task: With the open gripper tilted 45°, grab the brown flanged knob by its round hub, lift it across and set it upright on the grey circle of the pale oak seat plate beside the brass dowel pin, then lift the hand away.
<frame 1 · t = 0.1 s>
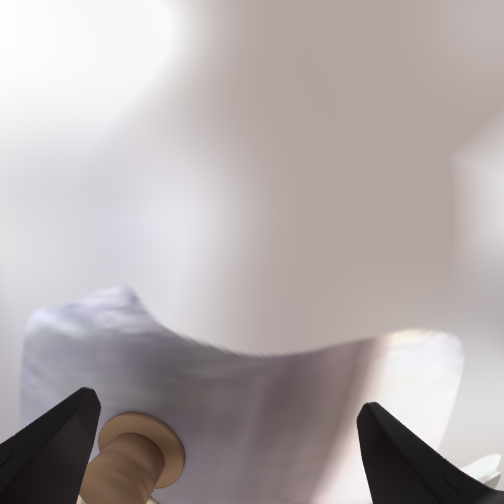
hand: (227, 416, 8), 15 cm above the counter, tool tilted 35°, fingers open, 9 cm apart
brown flanged knob: (142, 449, 20), on the counter
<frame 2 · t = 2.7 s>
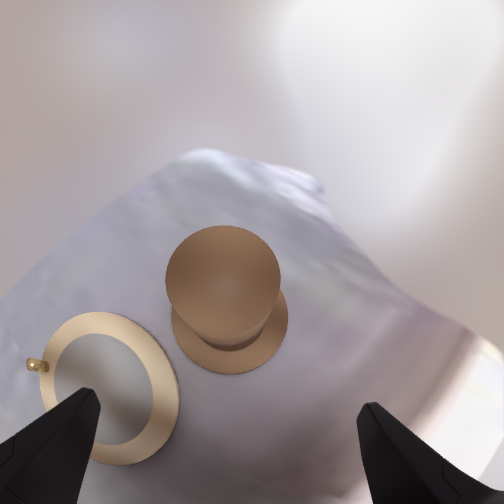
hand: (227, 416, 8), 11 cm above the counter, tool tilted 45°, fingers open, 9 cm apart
seat plate: (104, 390, 17), on the counter
brown flanged knob: (229, 319, 20), on the counter
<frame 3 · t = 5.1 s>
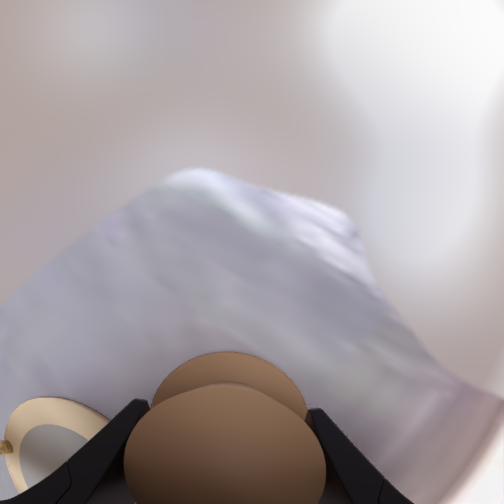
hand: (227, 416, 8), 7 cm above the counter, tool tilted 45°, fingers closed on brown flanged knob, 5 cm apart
seat plate: (77, 483, 10), on the counter
brown flanged knob: (229, 423, 13), on the counter, touching gripper
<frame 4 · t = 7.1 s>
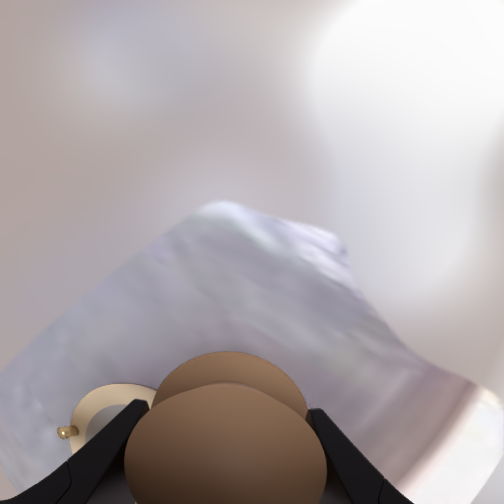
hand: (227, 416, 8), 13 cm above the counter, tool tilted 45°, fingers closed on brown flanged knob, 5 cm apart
seat plate: (136, 451, 17), on the counter
brown flanged knob: (229, 423, 13), point 7 cm above the counter, touching gripper
when the fingers open (9 cm above the counter, at t = 9.4 s): brown flanged knob stays where it is, resting on seat plate.
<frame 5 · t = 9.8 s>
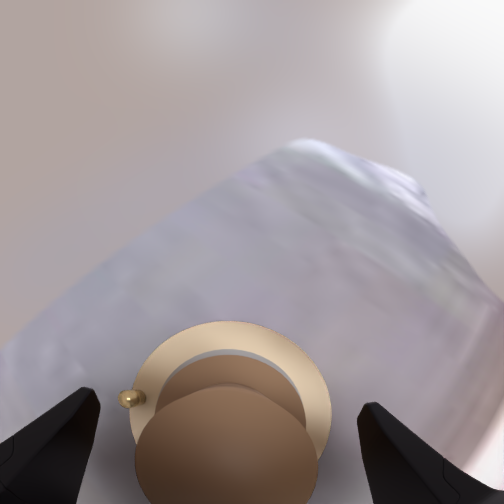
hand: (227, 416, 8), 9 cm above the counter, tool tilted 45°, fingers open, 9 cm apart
seat plate: (229, 417, 15), on the counter
brown flanged knob: (230, 422, 14), point 1 cm above the counter, touching seat plate
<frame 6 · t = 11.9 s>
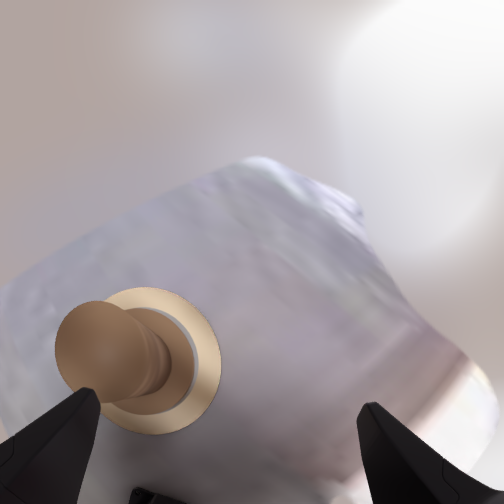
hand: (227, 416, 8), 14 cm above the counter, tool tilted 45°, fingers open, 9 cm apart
seat plate: (146, 361, 20), on the counter
brown flanged knob: (143, 362, 19), point 1 cm above the counter, touching seat plate
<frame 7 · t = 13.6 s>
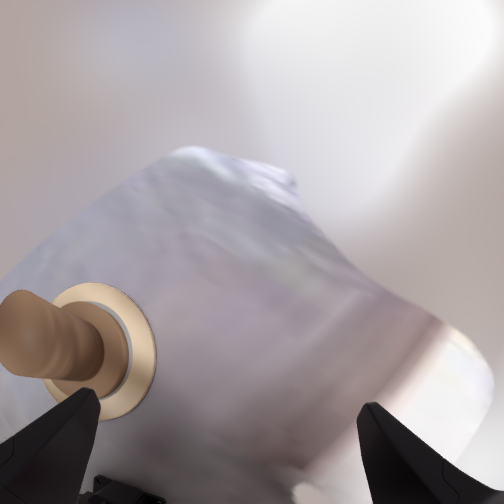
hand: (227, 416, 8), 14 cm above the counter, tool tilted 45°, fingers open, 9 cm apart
seat plate: (92, 352, 20), on the counter
brown flanged knob: (86, 352, 19), point 1 cm above the counter, touching seat plate
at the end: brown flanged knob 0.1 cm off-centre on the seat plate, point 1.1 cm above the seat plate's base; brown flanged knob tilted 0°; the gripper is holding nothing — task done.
